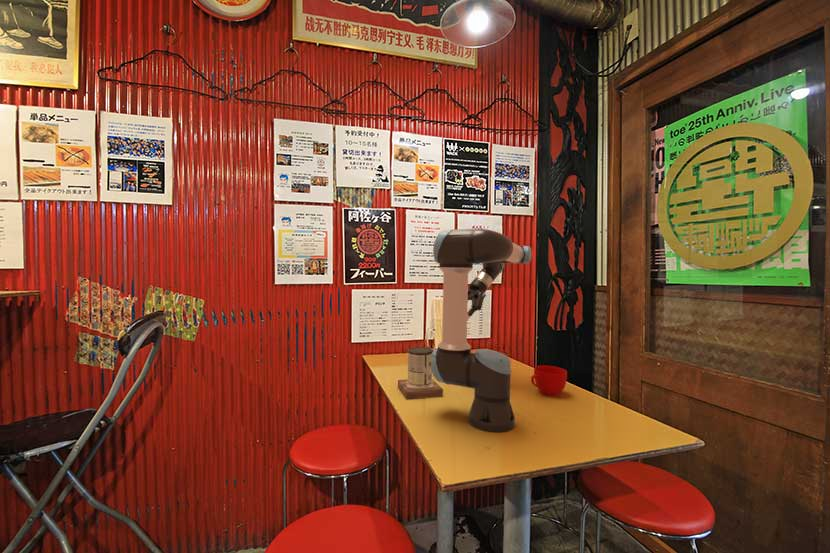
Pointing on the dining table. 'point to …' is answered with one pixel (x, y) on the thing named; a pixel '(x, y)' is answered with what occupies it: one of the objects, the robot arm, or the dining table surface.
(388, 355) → the dining table surface
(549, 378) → the ceramic cup
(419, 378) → the coffee can
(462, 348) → the robot arm
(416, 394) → the base
